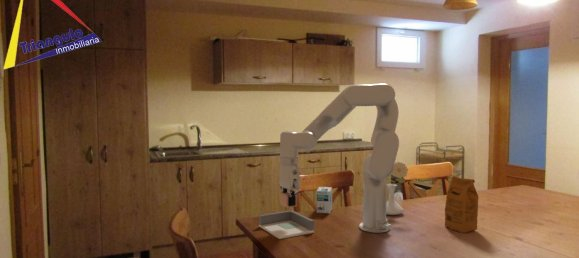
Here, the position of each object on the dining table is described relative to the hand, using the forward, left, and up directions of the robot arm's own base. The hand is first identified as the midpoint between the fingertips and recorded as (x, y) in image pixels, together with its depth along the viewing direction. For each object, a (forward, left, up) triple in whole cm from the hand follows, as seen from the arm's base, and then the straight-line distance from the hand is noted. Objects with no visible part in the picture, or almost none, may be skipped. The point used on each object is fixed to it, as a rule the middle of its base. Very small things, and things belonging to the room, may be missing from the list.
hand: (288, 203), depth 169 cm
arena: (-1, +2, -10) cm, 11 cm away
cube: (0, 0, -1) cm, 1 cm away
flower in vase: (-5, -54, -11) cm, 55 cm away
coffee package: (-36, -62, -11) cm, 73 cm away
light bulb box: (+16, -29, -11) cm, 35 cm away
